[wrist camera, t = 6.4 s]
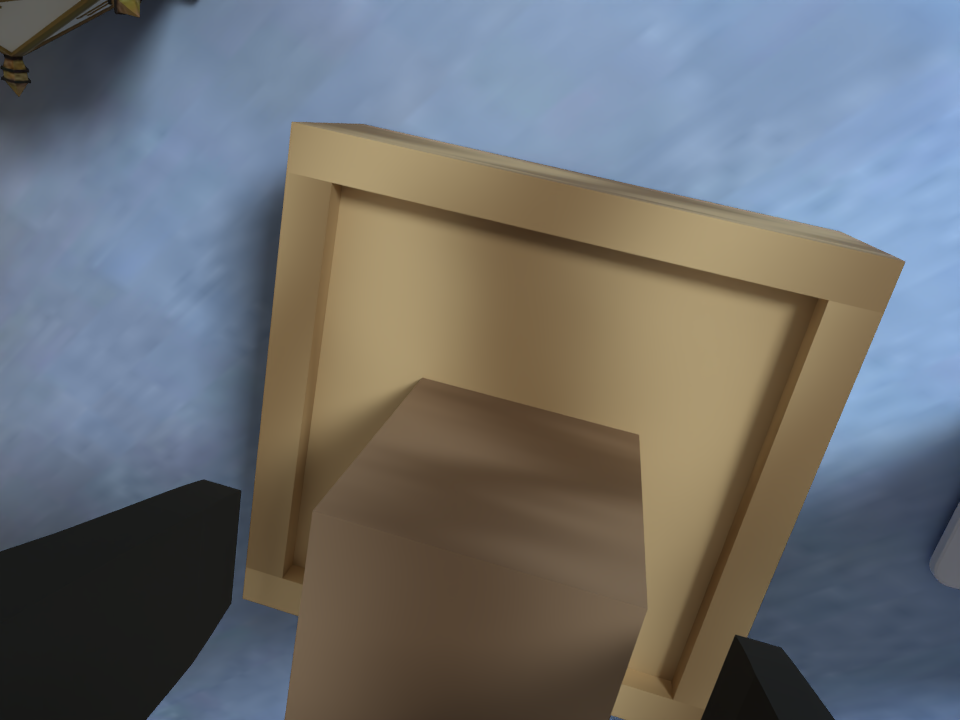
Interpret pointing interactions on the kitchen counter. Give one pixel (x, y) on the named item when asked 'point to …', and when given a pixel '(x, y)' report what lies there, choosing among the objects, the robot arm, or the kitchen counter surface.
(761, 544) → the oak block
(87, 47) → the kitchen counter surface
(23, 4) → the game die
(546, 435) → the walnut cube
